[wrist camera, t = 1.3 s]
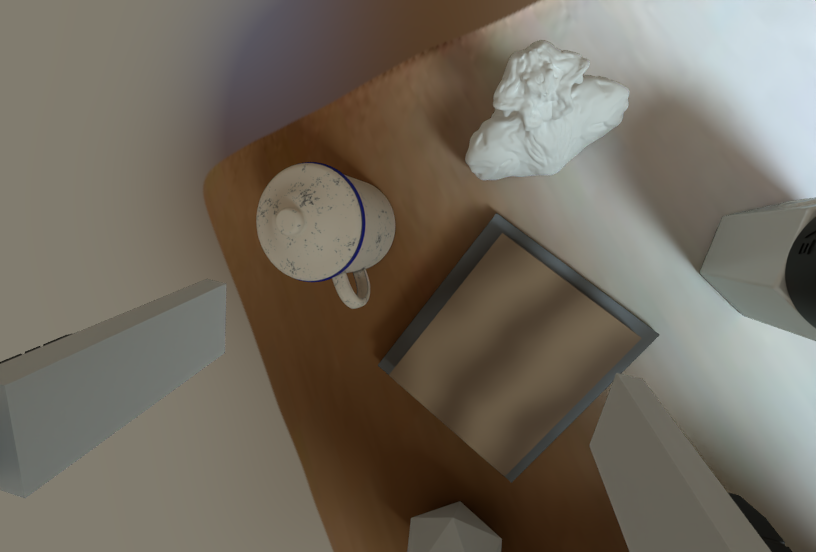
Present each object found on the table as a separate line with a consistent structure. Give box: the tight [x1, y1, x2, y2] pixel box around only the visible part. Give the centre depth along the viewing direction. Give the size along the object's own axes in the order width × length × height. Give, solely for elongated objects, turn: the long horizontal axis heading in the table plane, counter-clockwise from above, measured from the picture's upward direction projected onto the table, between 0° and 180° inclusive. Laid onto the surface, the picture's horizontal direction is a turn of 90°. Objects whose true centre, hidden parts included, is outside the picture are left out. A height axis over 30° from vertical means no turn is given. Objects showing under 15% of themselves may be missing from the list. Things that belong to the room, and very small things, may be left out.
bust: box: [465, 40, 629, 180], centre depth 28 cm, size 12×8×11 cm
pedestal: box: [378, 213, 659, 483], centre depth 33 cm, size 16×18×3 cm
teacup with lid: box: [256, 162, 395, 309], centre depth 32 cm, size 12×9×12 cm
